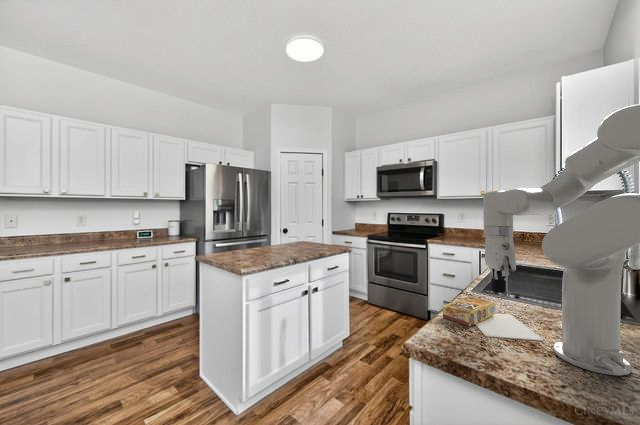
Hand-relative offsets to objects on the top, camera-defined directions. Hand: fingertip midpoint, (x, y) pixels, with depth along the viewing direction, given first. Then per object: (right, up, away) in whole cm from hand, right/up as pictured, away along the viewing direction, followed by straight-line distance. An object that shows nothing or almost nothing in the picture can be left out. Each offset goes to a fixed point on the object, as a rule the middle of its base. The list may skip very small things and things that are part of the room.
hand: (498, 291), depth 81 cm
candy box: (+1, -7, +9) cm, 12 cm away
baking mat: (0, -10, -1) cm, 10 cm away
